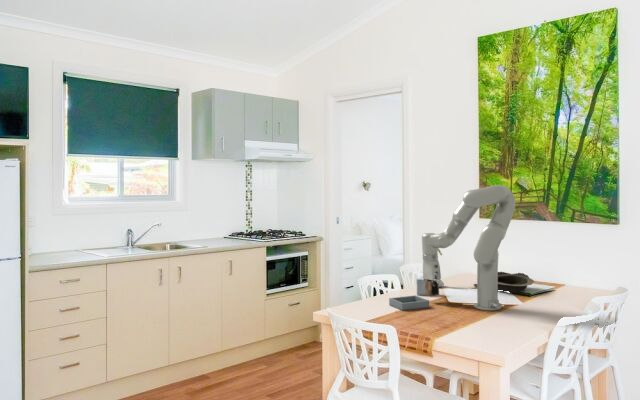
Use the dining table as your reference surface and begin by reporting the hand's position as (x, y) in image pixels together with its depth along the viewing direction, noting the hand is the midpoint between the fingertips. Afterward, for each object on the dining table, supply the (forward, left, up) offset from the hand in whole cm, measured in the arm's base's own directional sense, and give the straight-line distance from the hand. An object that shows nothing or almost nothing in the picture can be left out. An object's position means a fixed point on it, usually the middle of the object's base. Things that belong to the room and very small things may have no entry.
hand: (432, 292), depth 270 cm
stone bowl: (+6, -54, -5) cm, 55 cm away
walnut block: (0, 0, -1) cm, 1 cm away
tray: (-2, +15, -5) cm, 16 cm away
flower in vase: (+34, -23, -5) cm, 42 cm away
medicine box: (+18, -6, -5) cm, 20 cm away
